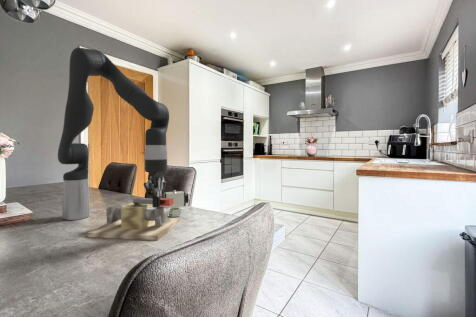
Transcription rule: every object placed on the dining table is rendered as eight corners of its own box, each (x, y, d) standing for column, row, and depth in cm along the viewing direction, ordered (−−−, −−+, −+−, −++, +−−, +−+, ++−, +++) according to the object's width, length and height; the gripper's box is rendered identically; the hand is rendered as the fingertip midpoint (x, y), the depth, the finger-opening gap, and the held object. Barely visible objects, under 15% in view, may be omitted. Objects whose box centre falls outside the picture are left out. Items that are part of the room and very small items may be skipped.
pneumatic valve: (188, 216, 107) (188, 190, 107) (161, 219, 103) (161, 191, 102) (187, 213, 112) (186, 188, 112) (161, 215, 108) (160, 189, 108)
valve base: (87, 236, 83) (86, 208, 82) (122, 219, 102) (121, 196, 102) (158, 240, 79) (157, 210, 79) (180, 221, 99) (179, 198, 99)
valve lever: (130, 204, 88) (130, 198, 88) (136, 202, 91) (136, 196, 91) (169, 206, 85) (169, 200, 85) (173, 204, 88) (173, 198, 88)
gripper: (156, 158, 76) (157, 212, 77) (173, 158, 89) (174, 203, 90) (135, 158, 78) (136, 211, 78) (155, 158, 91) (155, 202, 91)
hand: (156, 207), depth 84 cm, fingers closed
